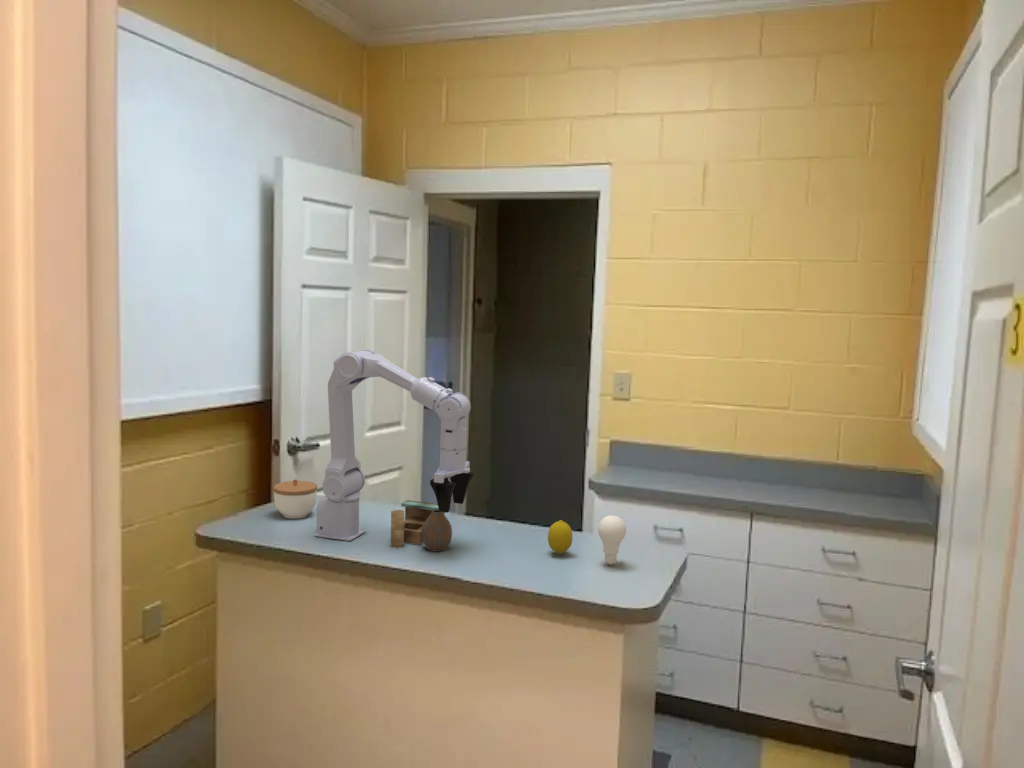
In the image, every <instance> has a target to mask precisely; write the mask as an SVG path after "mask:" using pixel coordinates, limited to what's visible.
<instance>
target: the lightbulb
mask: <svg viewBox="0 0 1024 768" xmlns="http://www.w3.org/2000/svg"><path fill="white" fill-rule="evenodd" d="M597 531H598V536H599V538H600V540H601V542H602V545H603V553H604V562H605V563H606V564H607V565H609V566H612V565H614V564H616V563H617V558H618V554H619V549H620V545H621V543H622V542H623V540H624V538H625V537H626V534H627V526H626V523H625V522H624V520H623V519H622V518H620V516H617V515H605V517H603V518H602V519H601V520H600V521H599V523H598V526H597Z"/></svg>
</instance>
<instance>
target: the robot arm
mask: <svg viewBox="0 0 1024 768" xmlns="http://www.w3.org/2000/svg"><path fill="white" fill-rule="evenodd" d="M376 377H377V378H378V377H380V378H382V379H385V380H386V381H388V382H390V383H392V384H395V385H396V386H398V387H400V388H402V389H404V390H406V391H408V392H410V395H411V398H412V400H413V401H415V402H417V403H419V404H420V405H423V407H426V408H427V409H429V410H431V411H433V412H435V413H436V414H437V416H438V418H439V420H440V439H439V442H440V446H439V451H440V452H439V456H440V457H439V466H438V468H437V471H436V472H435V473H434V474H433V478H432V479H430V481H429V484H430V486H431V488H432V491H433V493H434V495H435V498H436V502H437V503H436V504H438V508H439V511H440V512H445V513H449V512H450V508H451V504H452V503H451V502H452V501H453V503H454V504H458V505H459V504H460V505H463V504H464V501H465V498H466V495H467V492H468V491H467V490H468V488H469V484H470V483H471V481H472V478H473V477H474V472H473V471H471V468H470V461H468V460H467V461H466V459H467V457H466V454H467V419H468V417H467V416H468V415H469V414H470V412H471V409H472V406H471V405H472V404H471V402H470V401H471V400H470V399H469V398H468V396H466V394H464V393H463V392H453V388H450V387H448V388H446V387H444V386H443V385H440V384H438V383H437V382H435V381H436V379H435V378H433V377H432V376H429V377H426V376H423V377H420V378H417V377H416V376H414V375H412V374H411V373H409V372H408V371H406V370H404V369H402V368H401V367H400V366H398V365H397V364H395V363H393V362H392V361H390V360H388V359H387V358H386V357H384V356H383V354H379V353H376V352H375V351H373V350H370V349H364V350H361V351H354V352H353V351H351V352H350V351H347V352H344V353H342V354H341V355H339V356H338V357H337V358H336V359H335V360H334V361H333V369H332V372H331V374H330V377H329V380H328V381H327V398H328V399H327V401H328V414H329V415H328V420H329V421H328V422H329V435H330V436H329V439H330V441H329V442H330V461H329V462H328V463H327V465H326V467H325V469H324V473H325V474H324V479H323V481H322V487H321V488H322V491H323V495H324V496H322V497H321V498H320V499H319V500H318V502H317V507H316V533H314V537H317V538H318V537H319V538H326V539H333V540H338V541H339V540H340V541H345V542H351V541H353V540H354V539H357V538H358V537H359V536H361V535H363V534H364V533H366V532H367V529H365V528H363V529H362V528H360V495H361V490H362V489H363V488H364V486H365V483H366V481H365V480H366V479H365V475H364V473H363V471H362V468H361V467H362V466H361V465H362V464H361V462H360V460H359V459H358V458H357V457H356V453H355V452H356V449H355V429H354V427H355V426H354V411H353V409H354V408H353V405H354V404H353V390H354V389H355V388H356V387H358V385H360V384H361V382H363V381H365V380H367V379H369V378H376Z"/></svg>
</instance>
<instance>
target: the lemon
mask: <svg viewBox="0 0 1024 768" xmlns="http://www.w3.org/2000/svg"><path fill="white" fill-rule="evenodd" d="M549 527H550V528H549V529H548V533H547V542H548V546H549V548H550V549H551V550H552V551H554V552H555V553H557V555H559V556H560V555H562V554H563V553H564V552H567V551H568V550H570V548H571V546H572V543H573V530H572V527H571V526H570V525H569V524H568V523H566V521H563V520H562V519H560V520H558V521H555V522H553V524H551V525H550V526H549Z"/></svg>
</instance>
